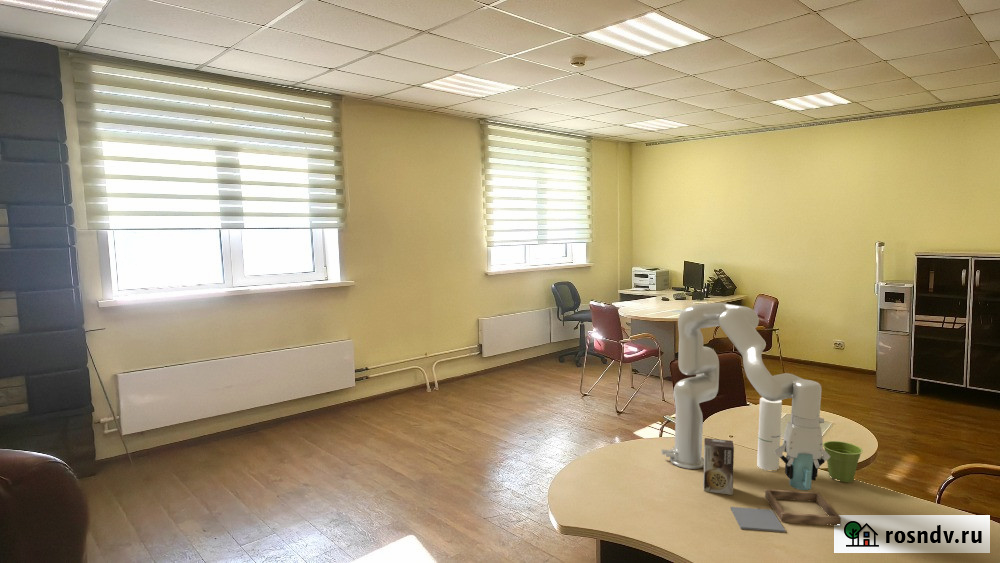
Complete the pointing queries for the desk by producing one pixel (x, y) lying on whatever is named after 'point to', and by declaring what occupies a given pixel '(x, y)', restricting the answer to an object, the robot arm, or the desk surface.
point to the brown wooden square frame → (797, 517)
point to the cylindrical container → (769, 434)
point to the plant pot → (842, 459)
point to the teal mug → (802, 472)
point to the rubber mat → (757, 519)
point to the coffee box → (718, 466)
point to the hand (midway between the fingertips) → (800, 477)
